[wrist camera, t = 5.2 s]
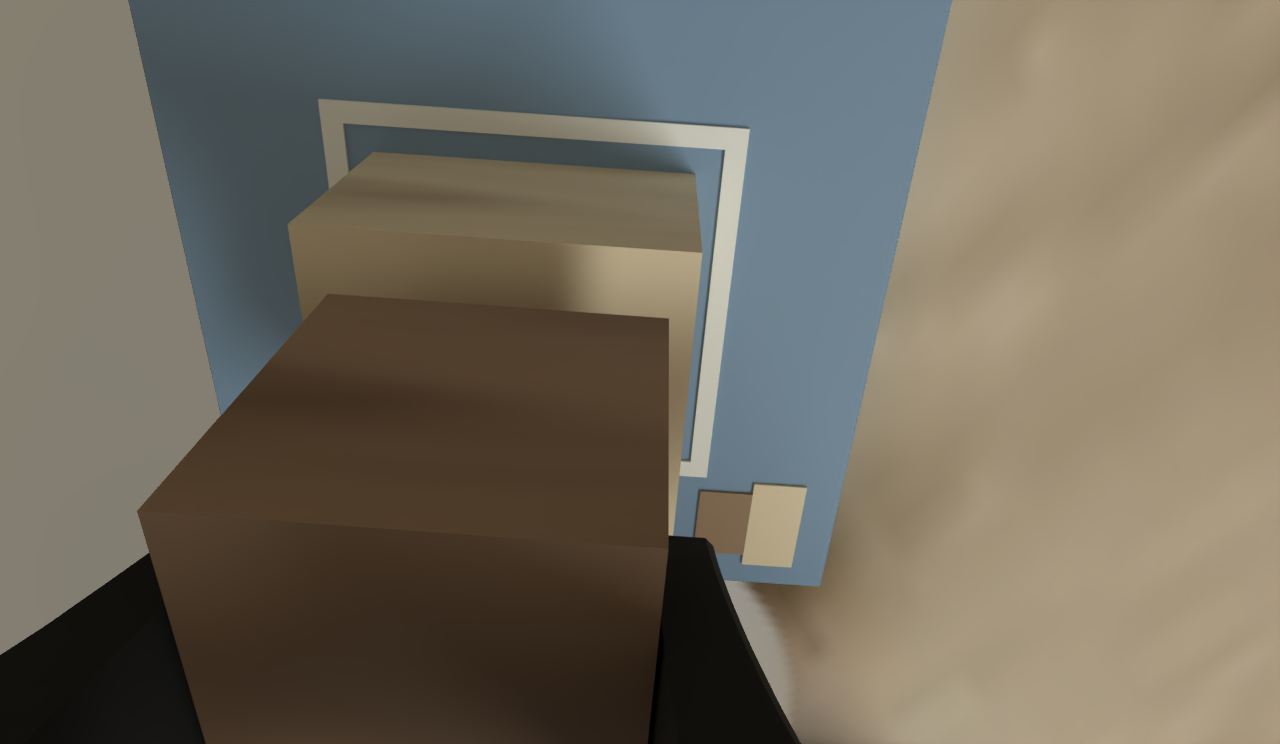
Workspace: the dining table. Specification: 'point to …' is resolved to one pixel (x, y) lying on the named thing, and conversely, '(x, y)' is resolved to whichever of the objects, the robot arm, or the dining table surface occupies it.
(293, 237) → the maple base block
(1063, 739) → the dining table surface
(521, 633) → the walnut block
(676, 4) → the board
